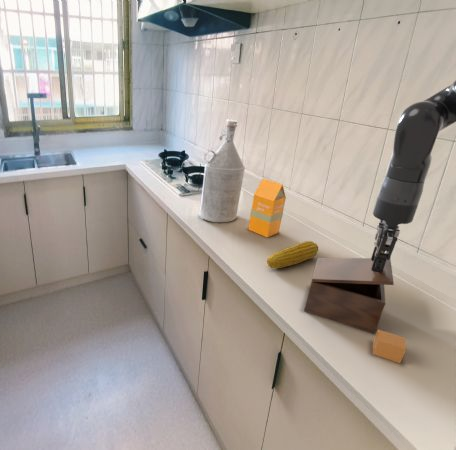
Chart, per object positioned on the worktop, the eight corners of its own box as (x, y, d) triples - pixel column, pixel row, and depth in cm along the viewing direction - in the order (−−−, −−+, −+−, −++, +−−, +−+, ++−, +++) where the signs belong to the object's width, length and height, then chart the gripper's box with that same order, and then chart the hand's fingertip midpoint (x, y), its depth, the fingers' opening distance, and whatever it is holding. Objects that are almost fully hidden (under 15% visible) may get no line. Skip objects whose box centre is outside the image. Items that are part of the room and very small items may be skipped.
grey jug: (192, 213, 145) (200, 117, 129) (227, 210, 151) (240, 117, 135) (205, 225, 134) (216, 121, 118) (243, 221, 140) (258, 121, 124)
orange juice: (259, 224, 137) (268, 177, 129) (279, 232, 130) (289, 182, 122) (247, 229, 132) (255, 180, 124) (267, 237, 126) (276, 186, 118)
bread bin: (373, 305, 90) (383, 277, 86) (373, 333, 80) (385, 303, 76) (310, 287, 97) (317, 260, 93) (303, 310, 86) (311, 281, 83)
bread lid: (390, 261, 84) (389, 242, 83) (393, 285, 74) (392, 264, 73) (318, 260, 93) (316, 243, 92) (312, 281, 83) (310, 263, 82)
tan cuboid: (398, 351, 74) (404, 337, 73) (400, 363, 71) (406, 349, 70) (372, 342, 77) (378, 329, 75) (372, 354, 73) (378, 339, 72)
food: (304, 252, 116) (308, 236, 114) (318, 259, 112) (323, 243, 109) (261, 266, 106) (264, 250, 104) (275, 275, 102) (279, 258, 99)
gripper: (423, 211, 66) (397, 285, 73) (415, 192, 78) (393, 257, 84) (378, 204, 69) (357, 275, 76) (377, 187, 81) (358, 250, 88)
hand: (376, 265), depth 80 cm, fingers closed on bread lid, 5 cm apart
